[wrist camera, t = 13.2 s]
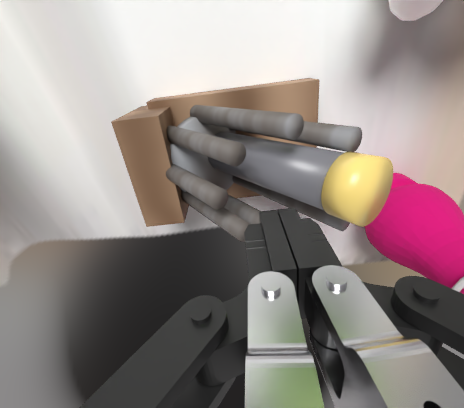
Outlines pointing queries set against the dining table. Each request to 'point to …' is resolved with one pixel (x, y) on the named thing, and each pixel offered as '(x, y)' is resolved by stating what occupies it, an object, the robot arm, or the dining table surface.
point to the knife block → (220, 150)
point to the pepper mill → (421, 231)
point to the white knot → (412, 8)
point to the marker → (316, 176)
